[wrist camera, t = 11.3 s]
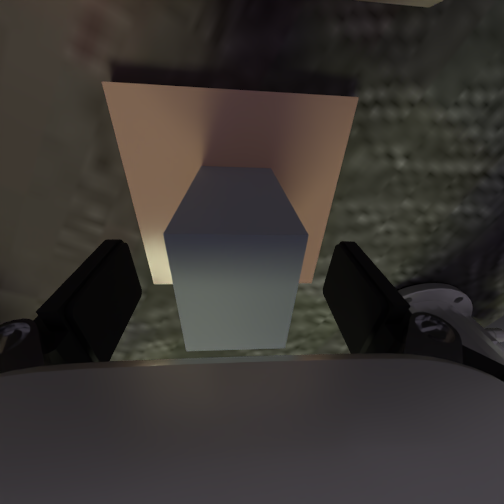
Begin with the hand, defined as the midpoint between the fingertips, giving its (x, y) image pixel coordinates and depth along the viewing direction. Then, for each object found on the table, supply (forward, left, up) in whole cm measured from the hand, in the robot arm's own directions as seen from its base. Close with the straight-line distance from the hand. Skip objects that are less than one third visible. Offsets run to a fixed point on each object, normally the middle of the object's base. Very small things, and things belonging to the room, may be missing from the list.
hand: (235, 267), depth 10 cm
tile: (0, 0, -8) cm, 8 cm away
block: (0, 0, -7) cm, 7 cm away
